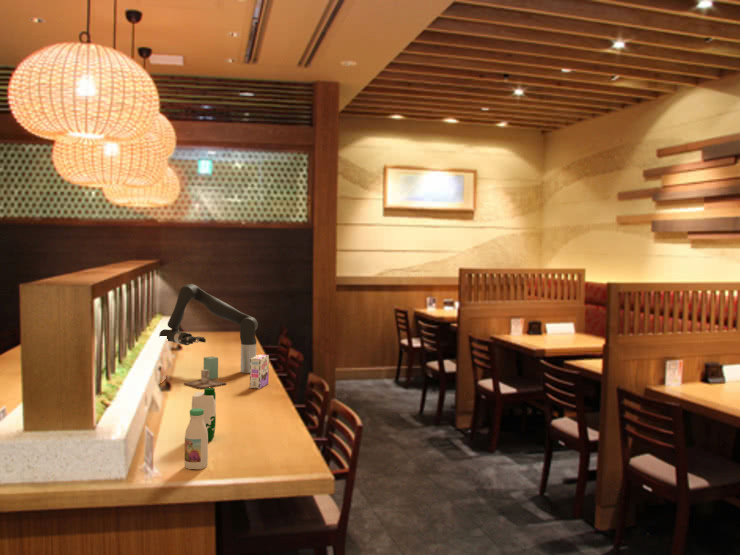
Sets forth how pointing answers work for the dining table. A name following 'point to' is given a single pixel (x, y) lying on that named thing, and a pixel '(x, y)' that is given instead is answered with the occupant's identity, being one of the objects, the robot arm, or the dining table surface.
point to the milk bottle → (196, 441)
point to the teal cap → (211, 366)
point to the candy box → (259, 371)
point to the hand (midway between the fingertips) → (198, 341)
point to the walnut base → (200, 385)
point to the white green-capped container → (207, 408)
